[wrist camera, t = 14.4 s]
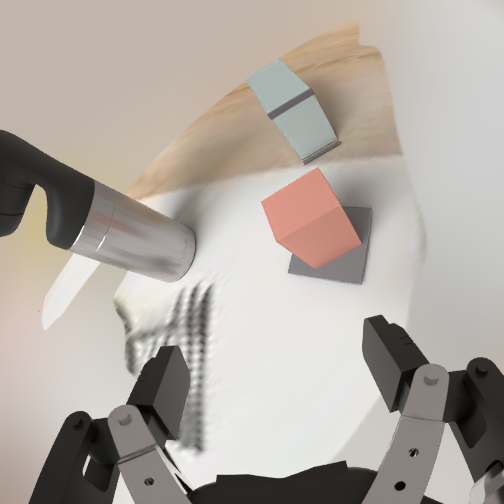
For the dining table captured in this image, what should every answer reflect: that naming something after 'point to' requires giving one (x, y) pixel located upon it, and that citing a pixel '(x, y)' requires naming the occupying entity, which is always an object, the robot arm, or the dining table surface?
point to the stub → (310, 220)
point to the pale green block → (293, 109)
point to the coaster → (346, 265)
